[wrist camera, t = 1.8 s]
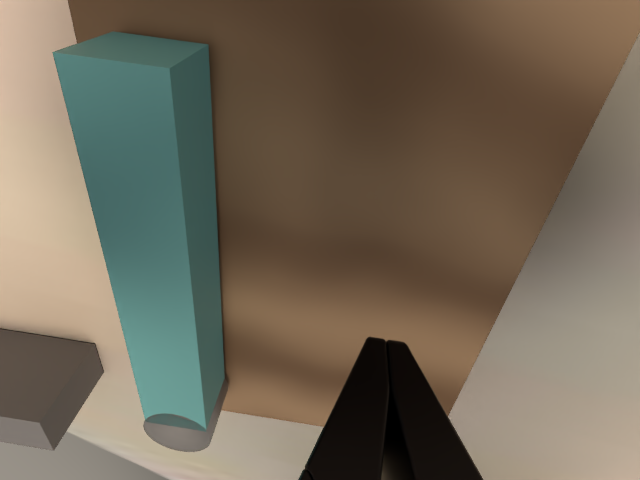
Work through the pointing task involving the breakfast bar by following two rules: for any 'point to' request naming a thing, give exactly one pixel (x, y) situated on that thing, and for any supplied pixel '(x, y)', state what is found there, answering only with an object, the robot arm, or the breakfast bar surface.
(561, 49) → the board
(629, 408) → the breakfast bar surface
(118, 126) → the leg
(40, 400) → the post
